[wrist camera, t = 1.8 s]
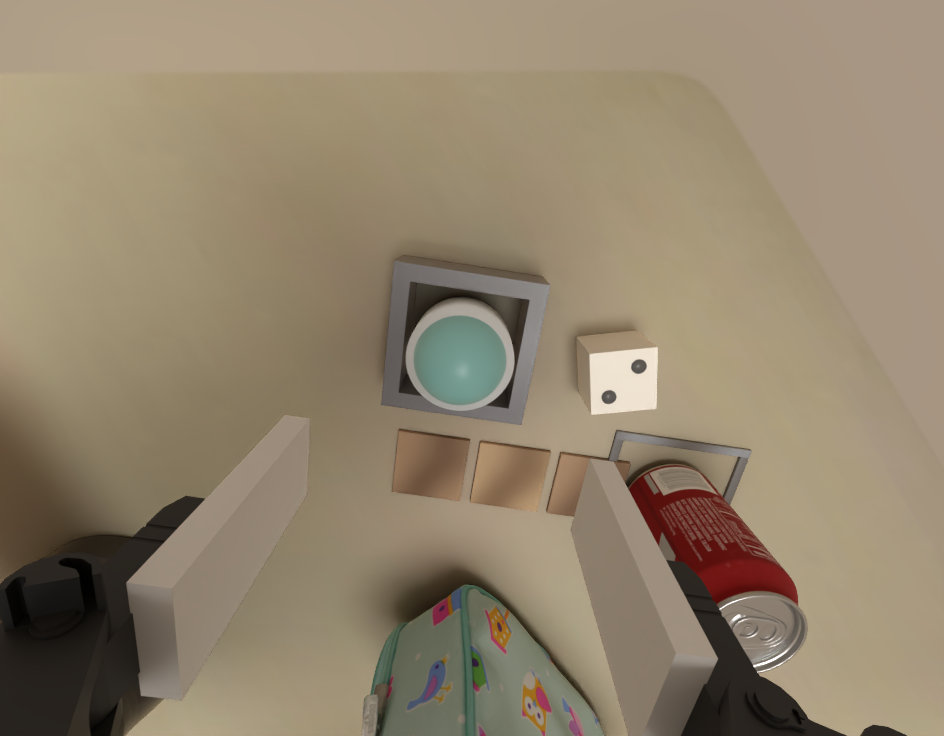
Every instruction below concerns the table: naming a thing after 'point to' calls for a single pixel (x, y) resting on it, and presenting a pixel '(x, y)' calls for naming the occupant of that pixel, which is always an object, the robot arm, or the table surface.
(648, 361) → the die
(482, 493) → the track
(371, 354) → the table surface
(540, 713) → the lunch box
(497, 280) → the dome housing
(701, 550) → the soda can
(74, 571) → the robot arm
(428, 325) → the dome
